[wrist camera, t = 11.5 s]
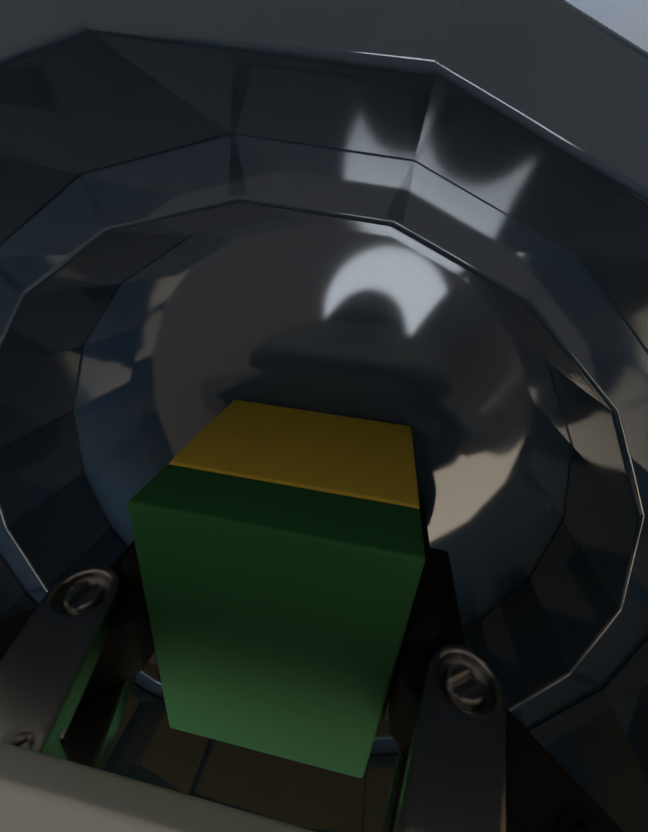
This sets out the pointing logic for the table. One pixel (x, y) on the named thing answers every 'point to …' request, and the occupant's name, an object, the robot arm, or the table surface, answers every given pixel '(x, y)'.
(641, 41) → the table surface
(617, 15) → the table surface
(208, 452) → the sponge
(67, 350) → the bowl
